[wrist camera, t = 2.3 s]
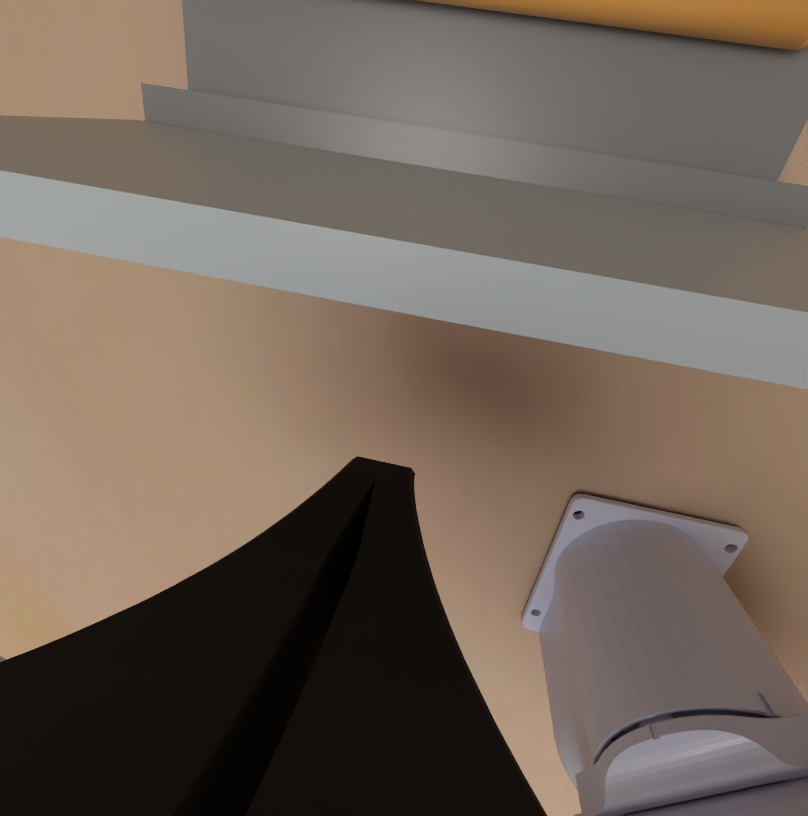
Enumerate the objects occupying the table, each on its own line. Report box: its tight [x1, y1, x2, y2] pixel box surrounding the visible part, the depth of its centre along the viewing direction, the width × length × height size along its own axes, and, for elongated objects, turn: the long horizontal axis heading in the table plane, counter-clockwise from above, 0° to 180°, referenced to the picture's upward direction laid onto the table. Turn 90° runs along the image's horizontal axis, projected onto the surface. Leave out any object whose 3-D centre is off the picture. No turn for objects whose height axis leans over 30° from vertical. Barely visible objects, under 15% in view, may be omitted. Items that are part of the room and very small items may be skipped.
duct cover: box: [0, 116, 808, 390], centre depth 9 cm, size 9×20×1 cm
